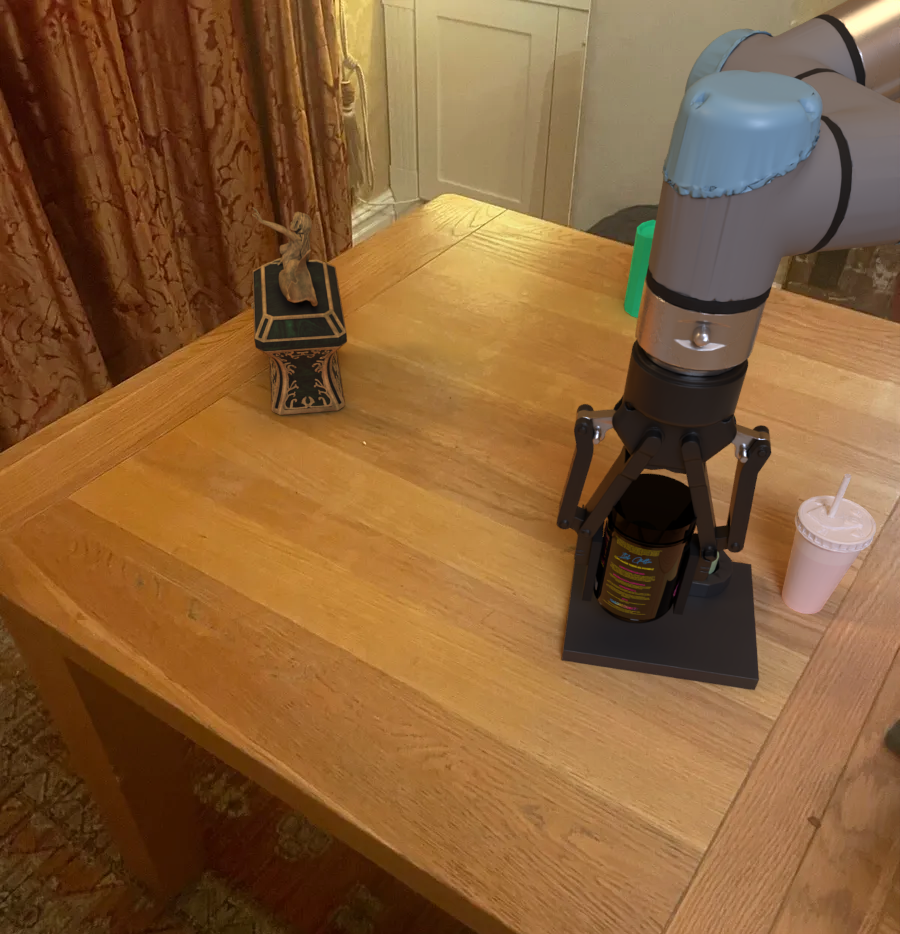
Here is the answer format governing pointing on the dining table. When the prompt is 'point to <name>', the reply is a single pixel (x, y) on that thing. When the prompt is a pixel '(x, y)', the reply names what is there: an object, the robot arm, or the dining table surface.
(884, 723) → the dining table surface
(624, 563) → the supplement container
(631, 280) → the candle
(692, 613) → the scale
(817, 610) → the smoothie
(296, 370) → the decorative box
